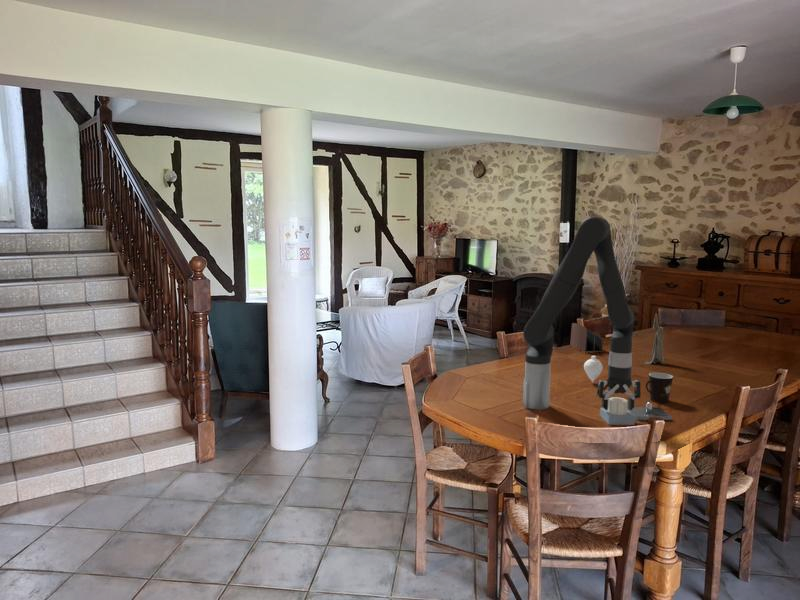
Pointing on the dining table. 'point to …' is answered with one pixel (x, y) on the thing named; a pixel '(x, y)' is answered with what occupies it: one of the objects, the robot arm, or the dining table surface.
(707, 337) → the dining table surface
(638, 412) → the hub
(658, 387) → the coffee mug
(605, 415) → the stand block
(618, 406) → the collar ring
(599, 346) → the letter holder
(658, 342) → the wizard figurine
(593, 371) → the spinning top
